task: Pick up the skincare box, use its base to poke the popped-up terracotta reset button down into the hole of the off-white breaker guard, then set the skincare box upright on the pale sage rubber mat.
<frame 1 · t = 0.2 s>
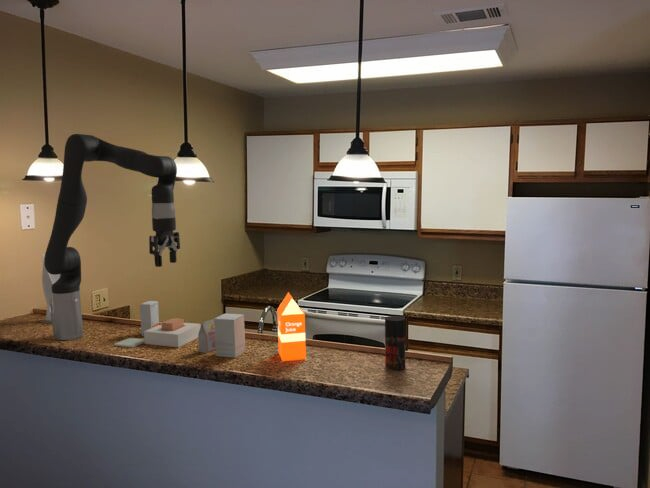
hand: (166, 264, 182), 29 cm above the countertop, fingers open, 8 cm apart
orange juice: (291, 356, 173), on the countertop
supplement box: (230, 354, 177), on the countertop
breaker guard: (173, 339, 194), on the countertop
skincare box: (150, 334, 202), on the countertop
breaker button: (172, 325, 193), point 5 cm above the countertop, slide at 0.0 cm
mat: (131, 343, 190), on the countertop
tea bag: (210, 350, 182), on the countertop
skyscraper: (54, 321, 225), on the countertop
deodorant: (395, 368, 161), on the countertop
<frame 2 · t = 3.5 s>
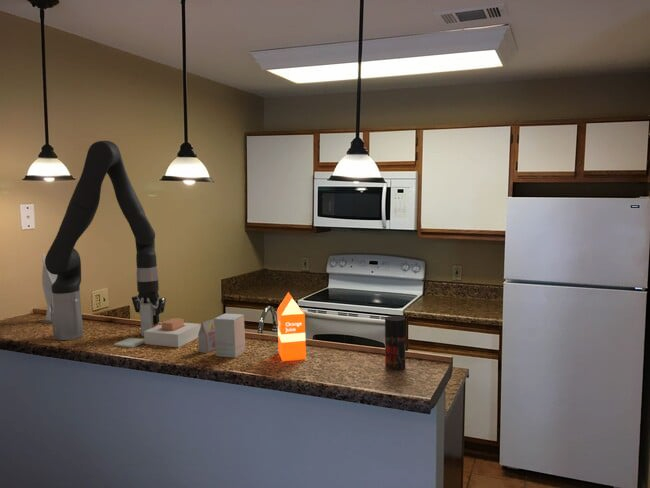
hand: (150, 323, 201), 4 cm above the countertop, fingers closed on skincare box, 4 cm apart
skincare box: (150, 334, 202), on the countertop, touching gripper
everything else where it was.
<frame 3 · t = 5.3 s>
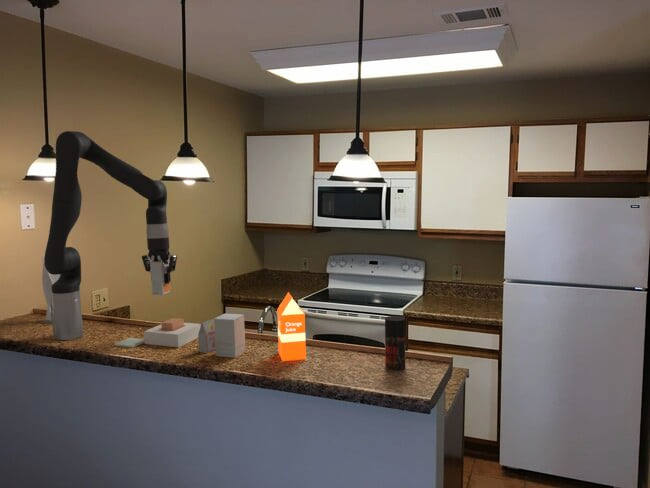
hand: (161, 283, 195), 20 cm above the countertop, fingers closed on skincare box, 4 cm apart
skincare box: (161, 294, 196), point 16 cm above the countertop, touching gripper
everything else where it was.
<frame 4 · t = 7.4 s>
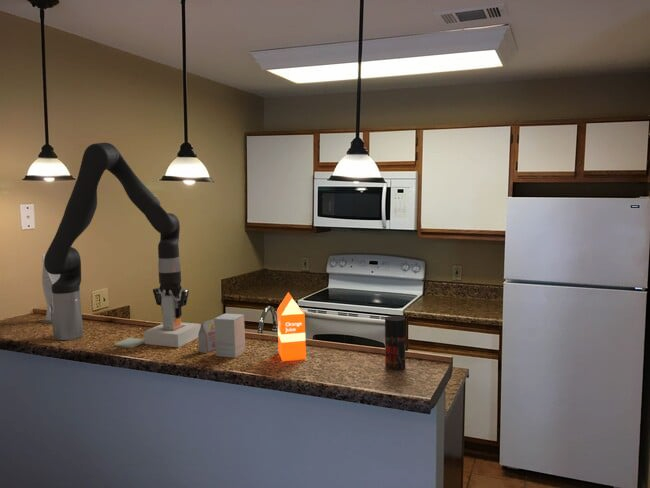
hand: (172, 317, 193), 8 cm above the countertop, fingers closed on skincare box, 4 cm apart
skincare box: (172, 328, 193), point 4 cm above the countertop, touching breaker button, gripper
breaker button: (173, 332, 193), point 3 cm above the countertop, slide at 2.6 cm, touching skincare box
everything else where it was.
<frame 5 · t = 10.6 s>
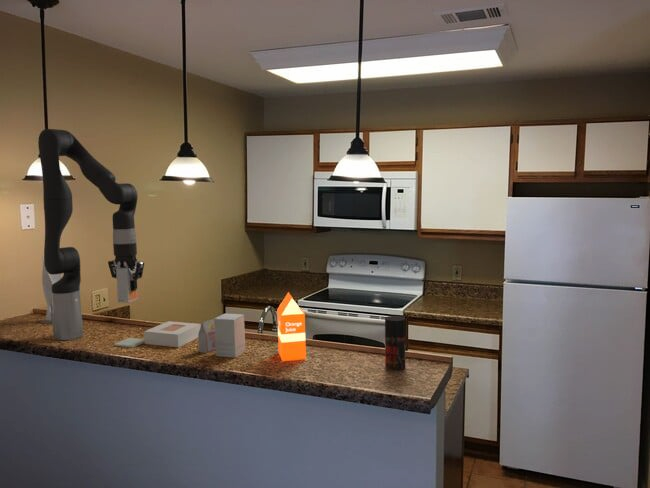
hand: (127, 290, 188), 19 cm above the countertop, fingers closed on skincare box, 4 cm apart
skincare box: (128, 301, 189), point 15 cm above the countertop, touching gripper
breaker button: (173, 333, 193), point 2 cm above the countertop, slide at 2.7 cm
everything else where it was.
when the fingers open (6 cm above the countertop, at t = 13.5 s): skincare box drops 1 cm, resting on mat.
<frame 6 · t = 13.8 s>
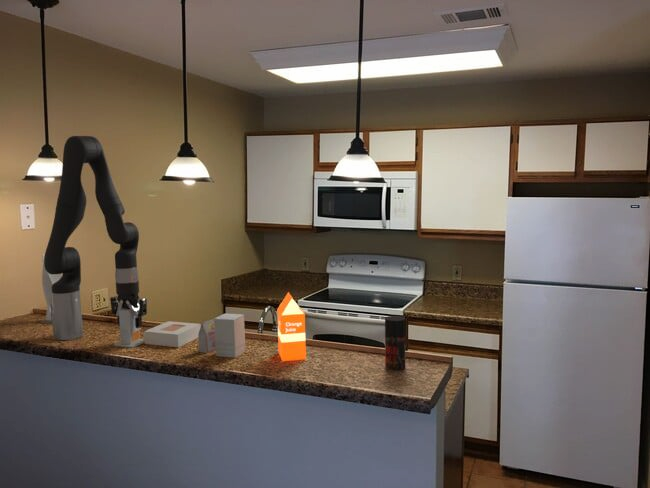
hand: (130, 326, 190), 6 cm above the countertop, fingers open, 6 cm apart
skincare box: (130, 342, 190), resting on mat
everything else where it was.
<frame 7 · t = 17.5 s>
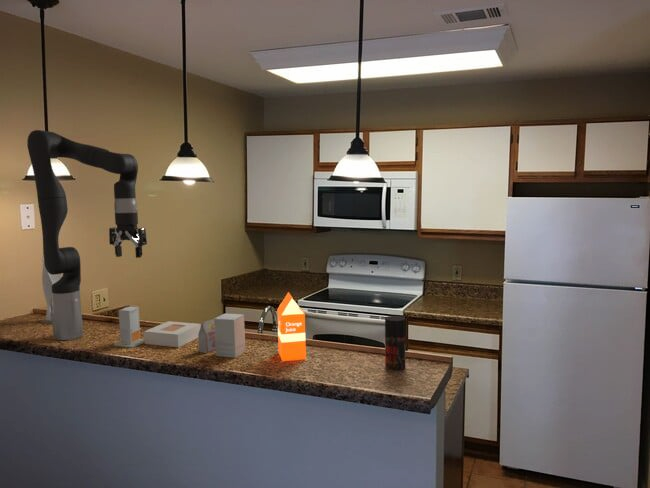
hand: (128, 257, 191), 30 cm above the countertop, fingers open, 8 cm apart
nothing on the countertop moved.
at the end: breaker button slide at 2.7 cm; skincare box inside the target area on the mat (0.1 cm from its centre), point 0.4 cm above the mat's base; skincare box tilted 0° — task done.
